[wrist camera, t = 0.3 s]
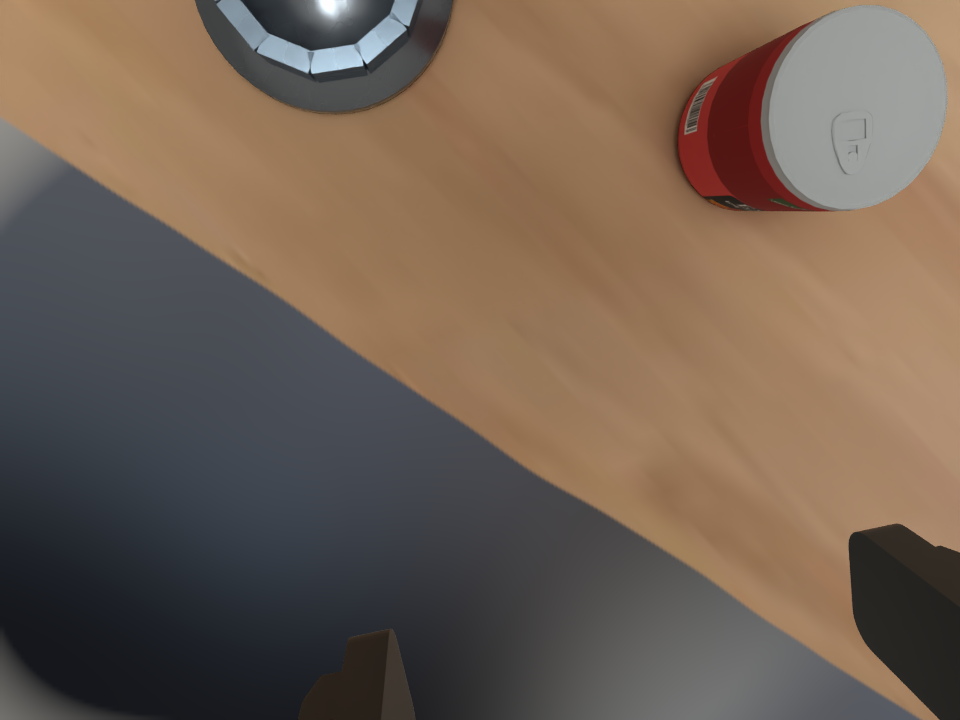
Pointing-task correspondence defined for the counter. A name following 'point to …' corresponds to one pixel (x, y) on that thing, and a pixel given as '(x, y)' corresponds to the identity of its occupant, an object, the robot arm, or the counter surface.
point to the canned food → (818, 116)
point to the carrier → (328, 47)
